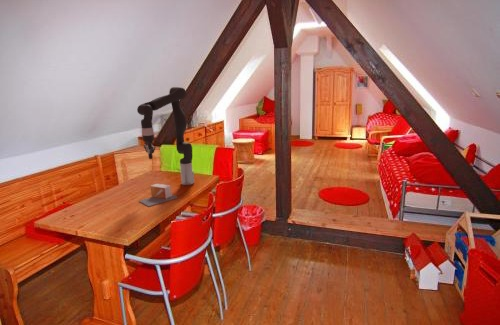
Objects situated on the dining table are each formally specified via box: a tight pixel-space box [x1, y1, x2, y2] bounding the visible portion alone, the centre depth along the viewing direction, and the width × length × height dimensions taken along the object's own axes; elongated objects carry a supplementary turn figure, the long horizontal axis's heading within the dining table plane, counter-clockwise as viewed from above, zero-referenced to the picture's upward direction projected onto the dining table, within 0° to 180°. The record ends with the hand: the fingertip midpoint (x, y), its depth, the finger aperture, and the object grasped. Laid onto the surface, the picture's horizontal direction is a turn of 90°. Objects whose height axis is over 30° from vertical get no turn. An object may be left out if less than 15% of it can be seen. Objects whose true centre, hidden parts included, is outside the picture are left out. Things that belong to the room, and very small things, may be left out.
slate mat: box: [138, 193, 179, 208], centre depth 210 cm, size 22×14×1 cm, turn 134°
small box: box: [149, 183, 172, 199], centre depth 214 cm, size 8×6×13 cm
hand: (150, 158), depth 213 cm, fingers closed
